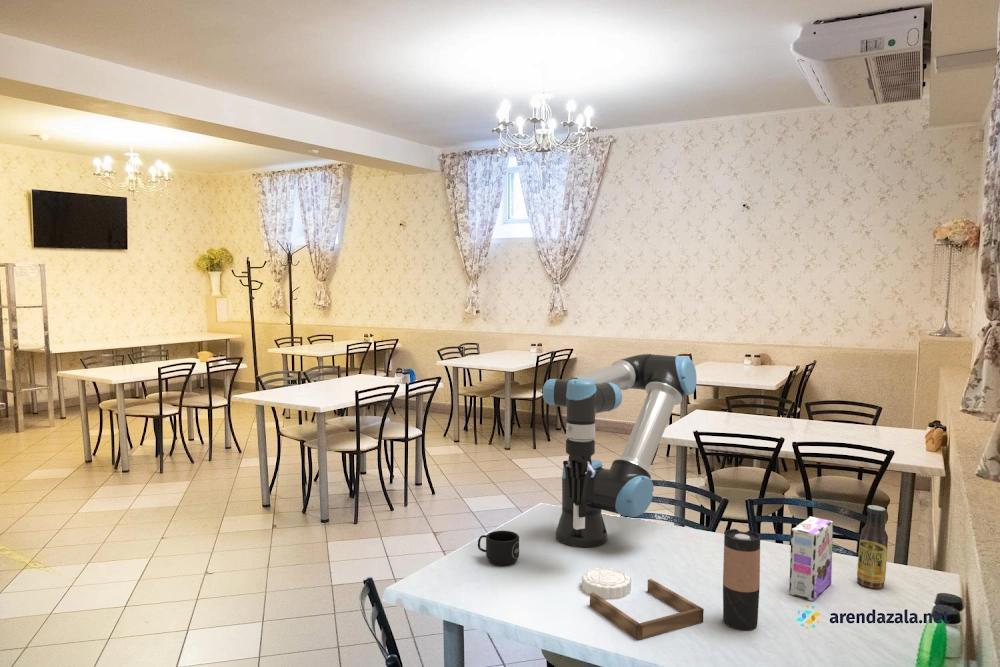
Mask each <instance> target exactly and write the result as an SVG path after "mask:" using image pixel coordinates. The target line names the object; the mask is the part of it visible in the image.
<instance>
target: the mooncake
mask: <svg viewBox="0 0 1000 667" xmlns="http://www.w3.org/2000/svg"><path fill="white" fill-rule="evenodd" d="M581 588H582V591H583V592H584V593H585V594H587V595H589V596H590V593H593V592H594V593H595V594H597V595H598V596H600V597H601V598H603V599H604V600H617V599H623V598H625V597H626V598H627V596H628V595H630V594H631V591H632V580H631V577H630V575H628V574H627V573H626V572H622V570H620V569H615V568H610V567H597V568H591V569H588V570H586V572H583V574H582V576H581Z"/></svg>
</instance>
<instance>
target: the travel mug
mask: <svg viewBox="0 0 1000 667" xmlns="http://www.w3.org/2000/svg"><path fill="white" fill-rule="evenodd" d="M723 536H724V537H723V538H724V540H723V544H724V545H723V568H722V570H723V571H722V611H723V612H722V617H723V619H722V621H723V622H724V624H725V625H726V626H727V627H729V628H731V629H734V630H737V631H747V632H748V631H753V630H755V629H757V627H758V621H759V603H760V602H759V601H760V588H761V587H760V585H761V583H760V581H761V579H760V578H761V577H760V576H761V575H760V574H761V573H760V572H761V536H760V534H758V533H757V532H755V531H752V530H747V531H740V530H739V529H737V528H730V529H727V530H726V531H724V535H723Z"/></svg>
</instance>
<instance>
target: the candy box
mask: <svg viewBox="0 0 1000 667" xmlns="http://www.w3.org/2000/svg"><path fill="white" fill-rule="evenodd" d="M833 525H834V521H832V520H829V519H824V518H821V517H816V516H808V517H807V518H806V519H804V520H803V521H802V522H800V523H798V525H796V526H795V527H793V528H791V532H790V535H791V536H790V559H789V560H790V561H789V562H790V563H789V565H790V567H789V589H788V590H789V593H788V594H789V595H791V596H794V597H798V598H802V599H804V600H807V601H811V602H814V601H815V600H816V599H817V598H818V597H819V596H820V595H821V594H823V592H824V591H825V590H827V589H828V588H829V586H830V585H832V569H833V568H832V567H833V566H832V564H833V535H834V534H833V533H834V530H833V529H834V528H833V527H834V526H833Z"/></svg>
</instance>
